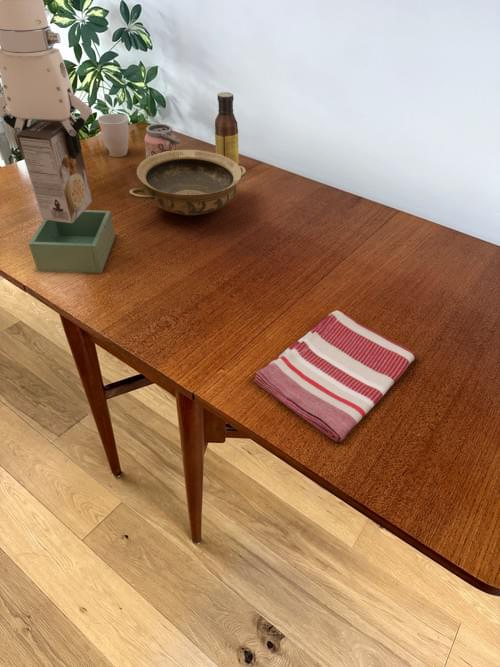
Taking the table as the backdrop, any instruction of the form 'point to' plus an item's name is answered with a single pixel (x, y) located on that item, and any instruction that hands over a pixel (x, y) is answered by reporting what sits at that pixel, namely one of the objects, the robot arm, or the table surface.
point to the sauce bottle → (226, 128)
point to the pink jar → (159, 139)
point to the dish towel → (335, 373)
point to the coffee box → (54, 171)
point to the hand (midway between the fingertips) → (53, 154)
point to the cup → (114, 133)
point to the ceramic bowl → (188, 181)
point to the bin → (74, 243)
